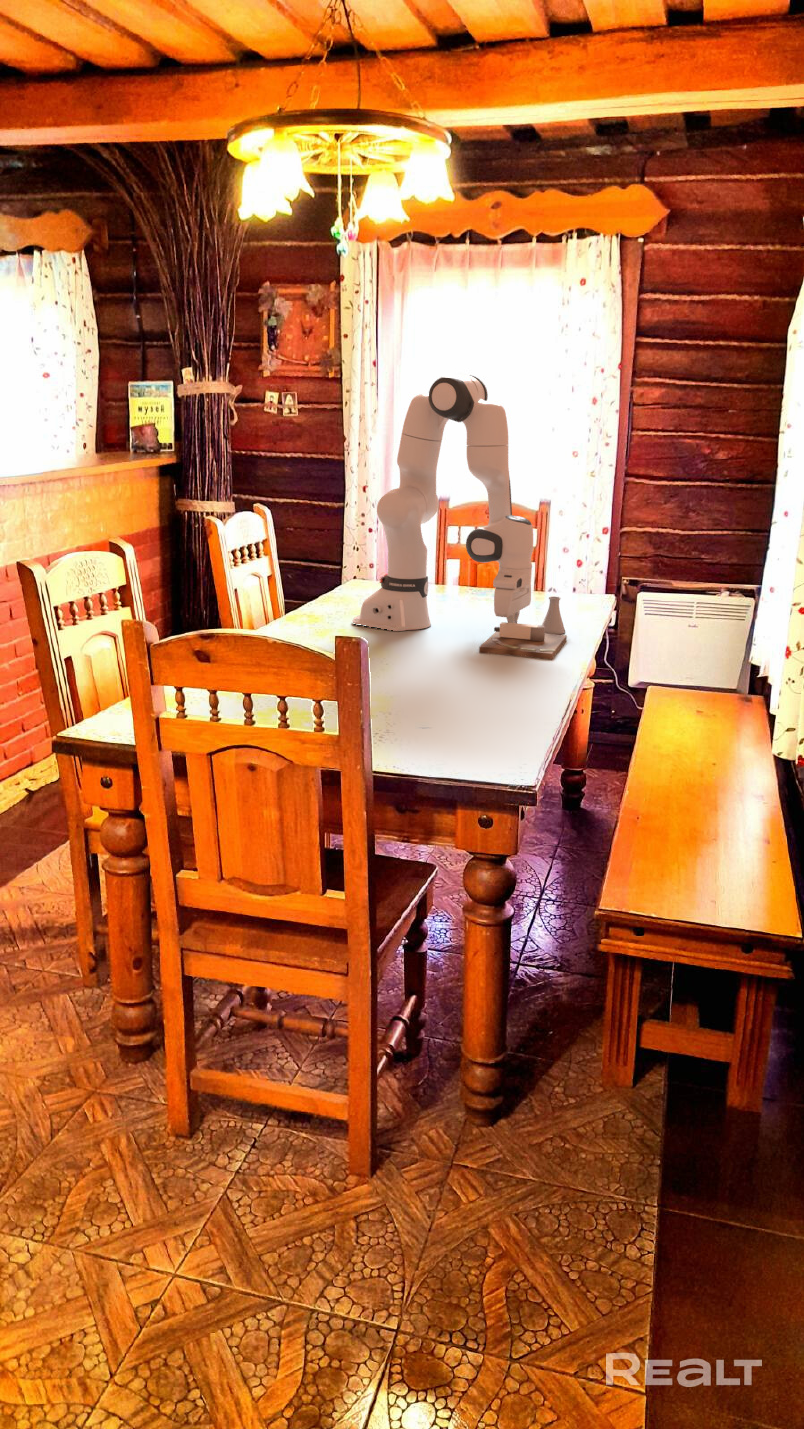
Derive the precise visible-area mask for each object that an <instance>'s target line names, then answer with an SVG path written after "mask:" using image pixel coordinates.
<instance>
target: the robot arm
mask: <svg viewBox="0 0 804 1429" xmlns="http://www.w3.org/2000/svg"><path fill="white" fill-rule="evenodd" d="M409 403H410V404H409V406H408V409H407V411H406V415H405V418H404V421H403V425H402V426H403V427H402V431H401V436H400V442H399V447H398V453H397V459H396V463H397V466H398V470H399V487H397V488H394V489H391V490H389V491H388V492H386V493H384V495H382V497H380V498H379V500H378V503H377V506H376V515H377V517H378V519H379V522H381V524H382V526H383V531H384V534H385V535H384V536H385V540H386V545H387V573H385V574H384V575H383V577H381V578H380V579H379V584H380V586H381V588H379V589H378V590H377V591H374V592H373V593H372V594H371V595H370V596H368V597H367V598H366V599H365V600H364V601H363V602H362V603H361V604H362V605H361V608H360V613H359V615H357V616H355V617H354V618H353V619H352V622H353V623H355V624H361V625H366V626H369V627H368V628H371V627H377V628H381V629H380V630H384V629H387V631H391V630H393V631H392V632H402V631H411V630H420V629H421V630H422V629H425V628H429V627H431V625H432V624H431V620H430V616H429V609H428V598H427V597H428V593H429V576H428V575H427V573H428V572H427V571H428V567H427V566H428V549H427V546H426V544H425V543H424V538H423V533H422V528H421V527H422V526H421V525H422V524H425V523H427V522H428V521H430V520H431V519H432V518H433V517H434V516H435V515H436V514H437V513H438V510H439V506H440V505H439V504H440V503H439V502H440V501H439V498H438V495H437V467H438V462H439V457H440V452H441V451H440V450H441V447H442V440H443V435H444V431H445V427H446V424H447V422H448V421H449V420H452V421H453V422H457V423H462V424H464V427H465V430H466V461H467V465H468V470H469V472H470V473H471V474H472V475H473V476H474V477H475V478H476V479H477V480H479V481H480V482H481V483H482V484H483V485H484V487H485V489H486V492H487V499H488V501H487V502H488V515H489V516H488V517H489V518H488V524H487V525H485V526H480V527H478V528H476V529H474V530H472V531H471V532H470V533H469V534H468V535H467V538H466V539H465V540H466V541H465V549H466V553H467V554H468V556H469V557H470V558H471V559H472V560H473V561H475V562H477V563H483V564H484V563H485V564H486V563H490V562H491V563H492V562H497V563H498V572H497V574H496V576H495V577H494V579H493V582H492V584H493V585H492V586H493V588H494V594H493V595H494V596H493V597H494V598H493V599H494V600H493V602H494V603H493V608H494V609H493V610H494V615H495V616H496V617H499V618H506V620H507V621H506V622H507V623H517V624H518V620H519V617H520V611H521V610H524V609H525V608H526V607H528V606H530V605H531V602H532V575H533V574H532V573H533V569H532V568H533V565H532V564H533V563H532V554H533V552H534V528H533V523H532V521H530V520H529V519H527V518H526V517H523V516H520V515H513V509H512V507H513V506H512V505H513V504H512V492H511V491H512V489H511V478H510V471H509V426H508V420H507V413H506V410H505V408H504V406H502V405H501V404H499V403H497V402H495V401H488V390H487V387H486V385H485V383H484V382H483V381H482V380H481V379H480V378H478V377H476V376H474V375H471V374H469V375H467V374H463V373H458V374H456V373H455V374H447V375H443V376H441V377H439V378H438V379H436V380H435V381H434V382H433V383H432V385H431V386H430V388H429V391H428V393H422V394H418V395H415V396H414V397H413V398H412V400H411V401H410V402H409ZM377 628H376V629H377Z"/></svg>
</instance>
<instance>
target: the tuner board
mask: <svg viewBox="0 0 804 1429" xmlns="http://www.w3.org/2000/svg"><path fill="white" fill-rule="evenodd" d="M567 637H568V636H567V634H547V633H545V638H544V641H531V640H529V639H518V638H507V637H499V632H496V631H494V633H493V634H491V636H489V637H488V638H487V639H486V640H485V641H484V642H483V643H482V644H481V645H480V646H478V647H479V649H478V652H479V653H480V654H481V653H483V654H493V655H494V654H495V655H504V656H515V657H523V658H525V657H526V658H531V659H533V658H534V659H543V660H553V659H554V657H555V656H556V655H557V653H558V652H559V651H560V650H561V648H562V647H563V646H564V645H565V643H566V642H567ZM562 645H563V646H562ZM555 654H556V655H555Z"/></svg>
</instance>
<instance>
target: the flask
mask: <svg viewBox="0 0 804 1429" xmlns="http://www.w3.org/2000/svg"><path fill="white" fill-rule="evenodd" d="M548 600H549V605H548V609H547V612H546V615H545V617H544V620H543V622H542V624H541V626H545V633H546V634H557V635H564V633H566V630H565V626H564V623H563V620H562V615H561V611H560V601H561V597H560V596H555V595H554V596H549V597H548Z"/></svg>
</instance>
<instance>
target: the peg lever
mask: <svg viewBox="0 0 804 1429" xmlns="http://www.w3.org/2000/svg"><path fill="white" fill-rule="evenodd" d="M493 629H494V630H493V632H499V637H507V638H518V639H529V640H531V641H544V638H545V626H542V624H529V623H527V624H526V623H518V622H517V623H508V622H507V621H506V622H503V621H502V622H500V623H499V626H494V628H493Z"/></svg>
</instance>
